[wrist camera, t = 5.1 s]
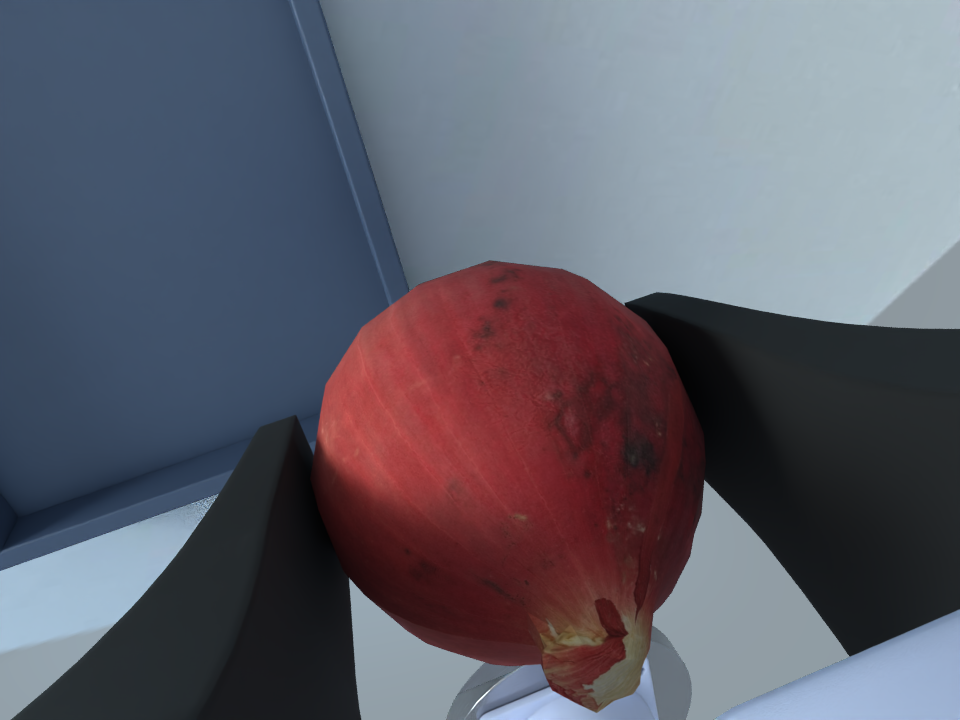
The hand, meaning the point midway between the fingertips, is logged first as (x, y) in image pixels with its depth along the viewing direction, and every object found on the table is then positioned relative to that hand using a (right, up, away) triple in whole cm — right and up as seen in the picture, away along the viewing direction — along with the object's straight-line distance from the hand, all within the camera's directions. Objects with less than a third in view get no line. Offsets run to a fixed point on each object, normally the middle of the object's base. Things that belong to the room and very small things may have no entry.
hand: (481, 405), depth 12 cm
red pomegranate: (-1, +1, +2) cm, 3 cm away
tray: (-9, +4, +6) cm, 12 cm away
